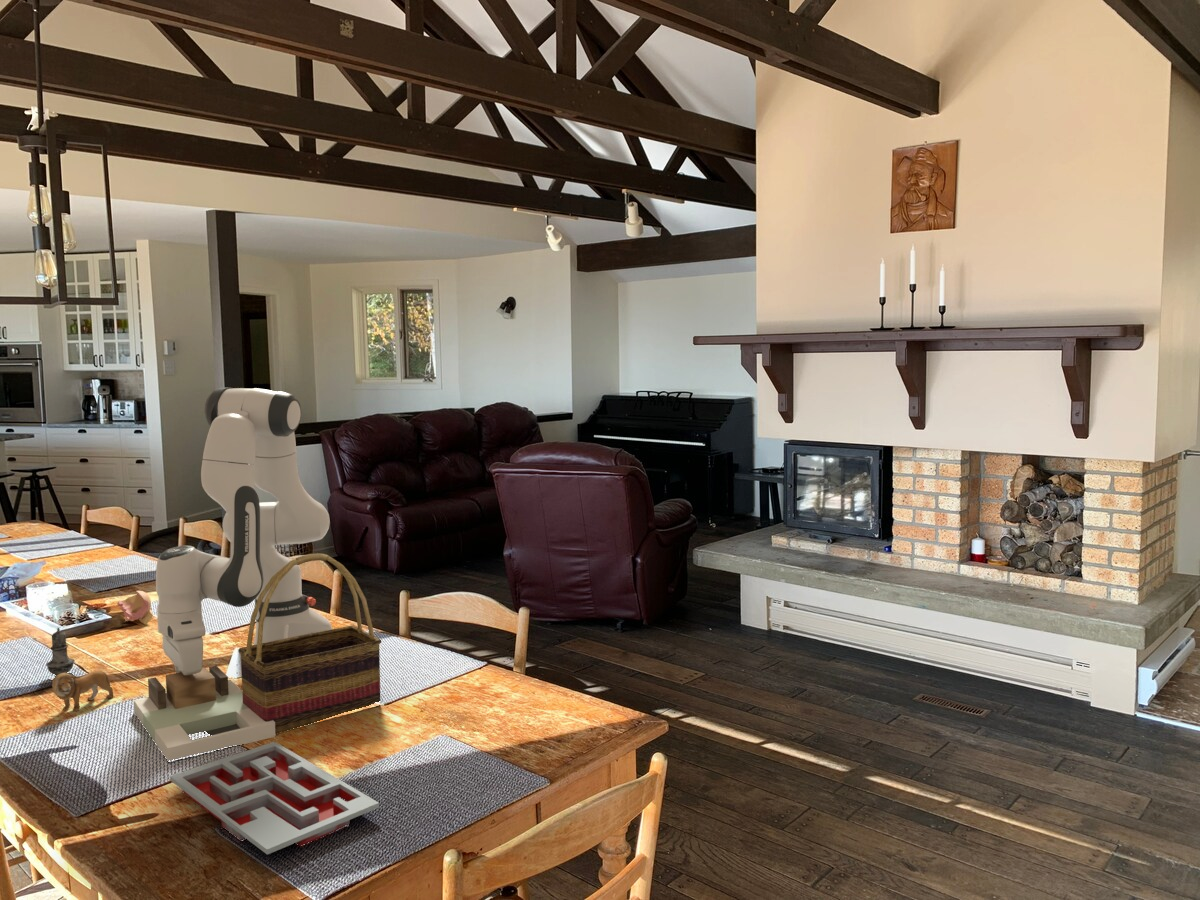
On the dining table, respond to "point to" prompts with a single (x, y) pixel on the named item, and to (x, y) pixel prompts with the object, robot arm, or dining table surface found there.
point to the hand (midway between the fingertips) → (182, 682)
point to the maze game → (273, 797)
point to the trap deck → (203, 724)
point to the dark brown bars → (159, 692)
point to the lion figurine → (80, 686)
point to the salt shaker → (59, 655)
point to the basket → (310, 665)
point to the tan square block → (190, 688)
